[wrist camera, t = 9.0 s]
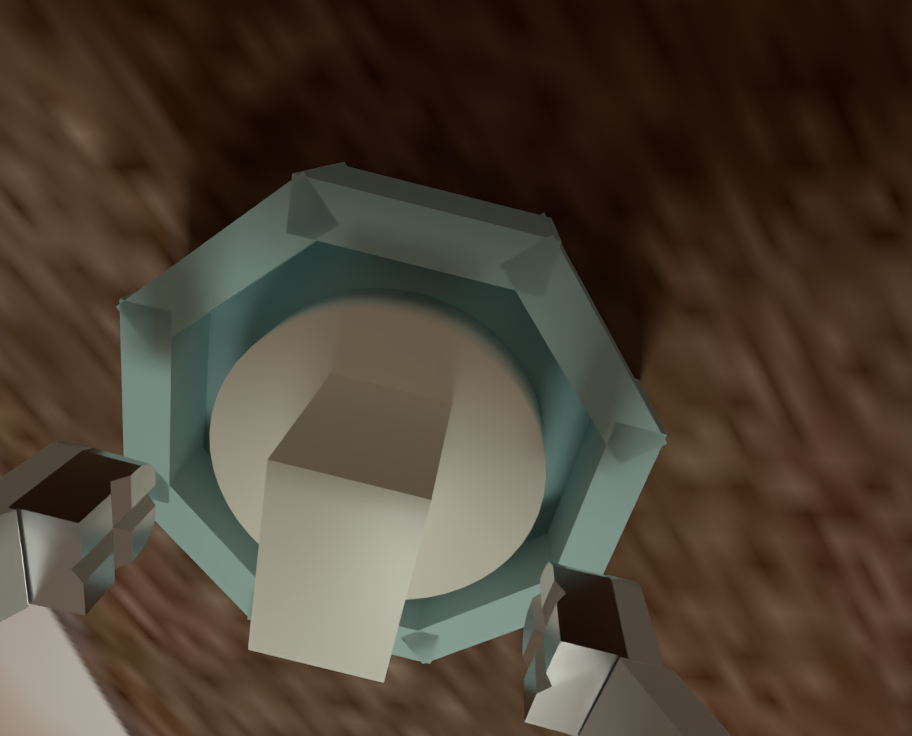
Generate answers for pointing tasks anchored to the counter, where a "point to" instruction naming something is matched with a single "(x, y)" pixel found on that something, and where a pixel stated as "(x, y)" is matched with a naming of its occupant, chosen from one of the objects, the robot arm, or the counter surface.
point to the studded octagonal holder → (410, 269)
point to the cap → (373, 468)
